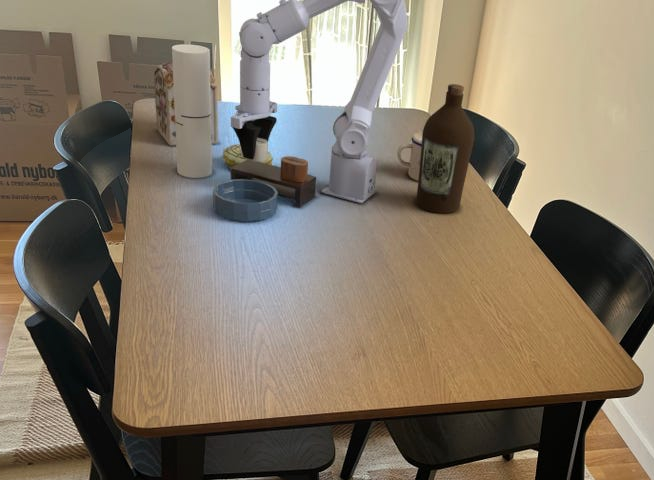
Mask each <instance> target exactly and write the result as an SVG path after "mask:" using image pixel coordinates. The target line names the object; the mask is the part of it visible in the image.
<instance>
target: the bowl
mask: <svg viewBox="0 0 654 480" xmlns="http://www.w3.org/2000/svg"><path fill="white" fill-rule="evenodd" d="M278 203H279V196H278V192H277V190H276V189H275V188H274V187H273V186H271V185H269V184H267V183H264V182H260V181H256V180H247V179H234V180H231V179H227V180H225V181H220V182H219V183H216V184H215V185H214V187H213V189H212V208H213V210H214V212H215V213H216V214H218V215H220V216H222V217H223V218H227V219H229V220H232V221H238V222H259V221H263V220H266V219H267V220H268V219H270V218H272V217H273V216H274V215H276V214H277V212H278V205H279V204H278Z"/></svg>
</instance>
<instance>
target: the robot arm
mask: <svg viewBox="0 0 654 480" xmlns="http://www.w3.org/2000/svg"><path fill="white" fill-rule="evenodd" d="M346 2H353V3H354V2H355V3H359V4H366V0H302V1H301V0H279V1H278V3H279V5H277V6H275V7H273V8H272V9H269V10H268V11H266V12H264V13H263V12H261V11H260V12H258V13H256V17H257V18H254V17H253V18H248V19H247V20H245V21H244V22H243V23H242V25H241V27H240V30H239V32H238V35H239V42H240V46H241V50H240V58H241V59H240V61H239V104H237V105H235V108H234V109H235V111H236V112H235V114H234V115H232V116H230V127H231V128H232V129H233V131H234V133H235V135H236V137H237V139H238V143H239V144H240V146H241V150H242V154H243V157H244V158H248V159H254V156H255V149H256V141H257V137H258V138H262V139H265V140H267V141H268V142H269V139H270V137H271V134H272V131H273V129H274V127H275V126H276V124H277V120H278V119H277V117H276V116H272V114H276V113H278V102H275V101H271V100H270V99H271V96H270V95H271V62H270V51H271V50H272V47H273V45H279V44H281V43H283V42H285V41H287V40H288V39H290V38H292V37H294V36H296V35H298V34H300V33H301V32H304V31H305V30H307V29H308V27H309V22H310V20H311V19H313V18H315V17H316V16H319V15H321V14H324V13H325V12H328V11H330V10H332V9H334V8H335V7H336V8H337V7H338V6H340V5H342V4H344V3H346ZM369 2H370V3H371V5H372V6H373V7H374V10H375V13H376V15H377V18H378V20H379V23H380V24H379V27H378V30H377V33H376V35H375V37H374V39H373V42H372V45H371V47H370V50H369V53H368V55H367V57H366V60H365V62H364V64H363V68H362V70H361V73H360V74H359V78H358V80H357V83H356V85H355V88H354V90H353V93H352V96H351V98H350V99H349V101H348V103H347V104H345V106H344V109H343V111H342V113H341V114H340V115H338V116H337V117H336V119H335V120H334V122H333V124H332V131H333V135H334V137H335V140H336V141H335V143H334V144H333V145H332V146H331V154H330V166H329V167H330V168H329V182H328V183H329V184H328V185H327V186H326V187H325V188H323V189H321V190H320V191H321V194H325V195H328V196H331V197H336V198H339V199H342V200H347V201H349V202H350V201H351V202H355V203H357V204H363V203H364V202H365V201H366V200H368V199H369V198H370V197H371V196H373V195H374V194H375V193H376V191H377V190H375V189H376V181H377V171H378V162H377V159H376V158H375V157H372V156H371V155H369V154H368V153H367V148H368V146H369V132H370V128H371V127H372V126H371V125H372V119H373V113H374V110H375V108H376V105H377V102H378V100H379V98H380V96H381V93H382V90H383V88H384V86H385V83H386V81H387V78H388V76H389V73H390V71H391V69H392V66H393V64H394V61H395V59H396V57H397V54H398V52H399V49H400V47H401V45H402V42H403V39H404V38H405V35H406V32H407V30H408V25H409V22H408V21H409V20H408V14H407V6H406V0H369Z"/></svg>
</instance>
